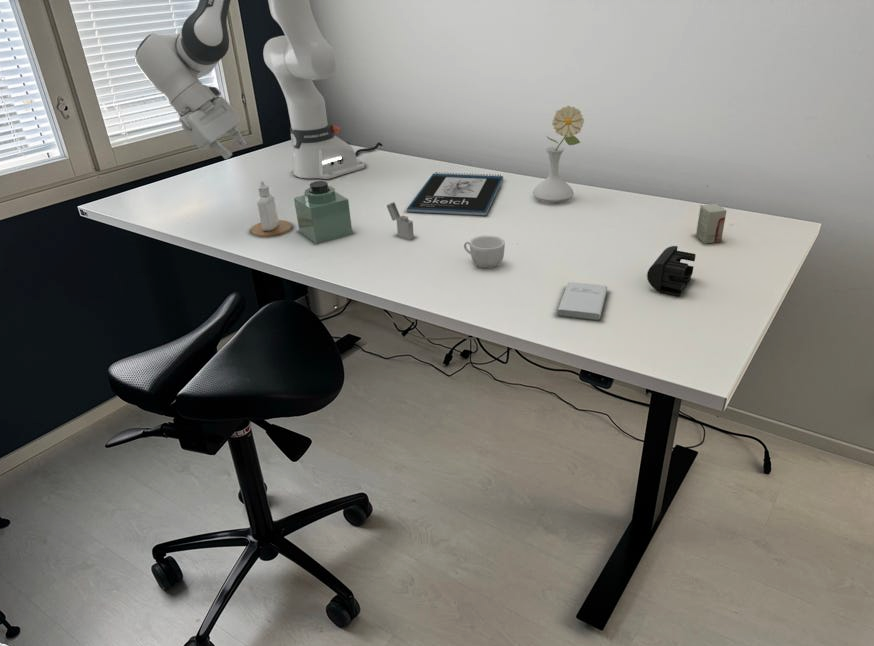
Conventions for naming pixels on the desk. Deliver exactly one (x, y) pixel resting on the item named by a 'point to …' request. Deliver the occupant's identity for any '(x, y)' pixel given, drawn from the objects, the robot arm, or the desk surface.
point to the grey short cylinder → (319, 187)
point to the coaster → (281, 229)
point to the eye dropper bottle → (267, 209)
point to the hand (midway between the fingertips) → (236, 151)
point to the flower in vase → (553, 185)
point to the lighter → (401, 222)
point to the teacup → (486, 251)
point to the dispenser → (323, 215)
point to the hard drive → (582, 301)
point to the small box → (711, 223)
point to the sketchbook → (457, 194)
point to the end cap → (671, 271)
